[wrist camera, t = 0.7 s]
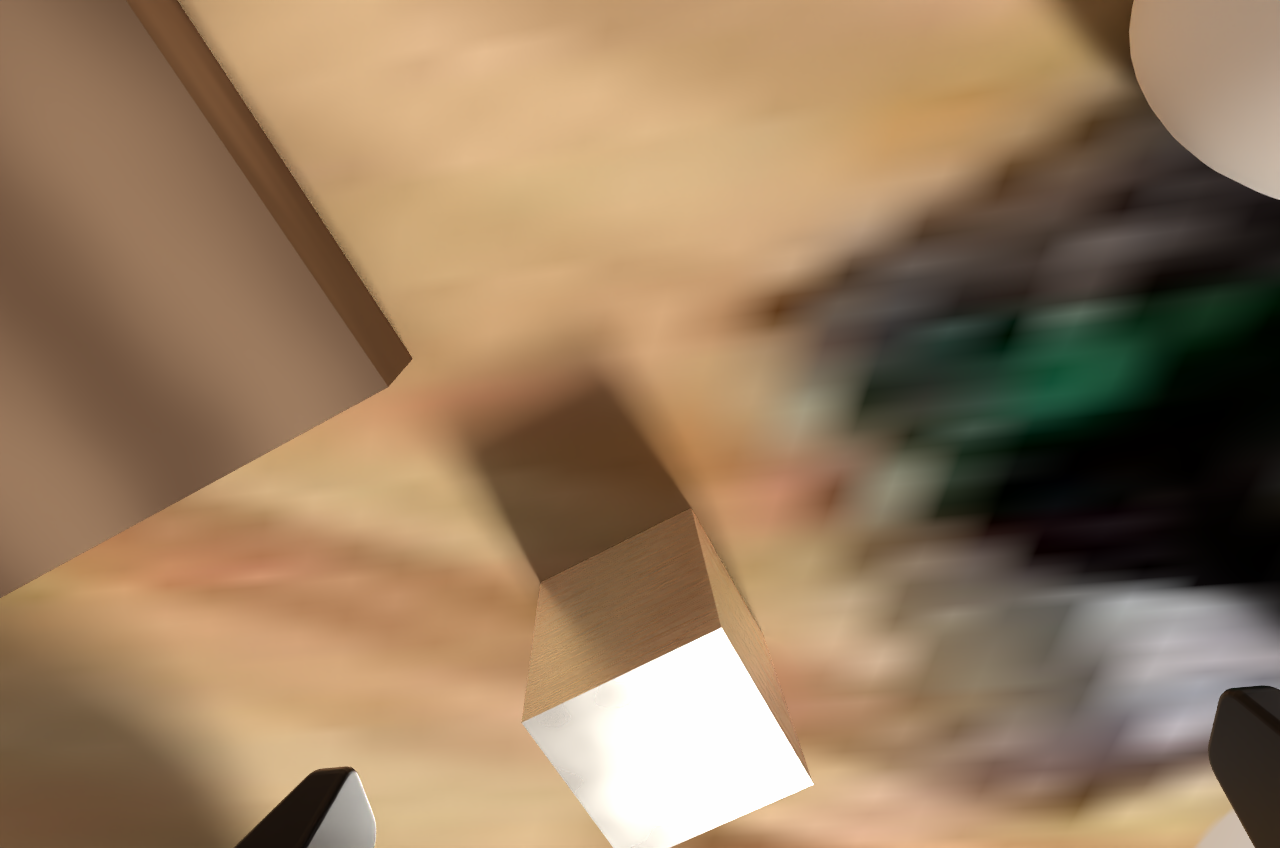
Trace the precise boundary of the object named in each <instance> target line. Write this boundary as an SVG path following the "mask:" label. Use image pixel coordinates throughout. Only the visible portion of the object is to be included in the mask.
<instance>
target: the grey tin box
mask: <svg viewBox="0 0 1280 848" xmlns="http://www.w3.org/2000/svg"><path fill="white" fill-rule="evenodd" d="M522 724H523V725H524V726H525V728H526V729H527V731H528V732H529V733H530V735H531V736H532V737H533V739H534V740H535V741H536V743H537V744H538V746H539V747H540V748H541V750H542V751H543V752H544V754H545V755H546V756H547V758H548V759H549V761H550V762H551V763H552V765H553V766H554V767H555V769H556V770H557V771H558V773H559V774H560V776H561V777H562V778H563V780H564V781H565V782H566V784H567V785H568V786H569V788H570V789H571V791H572V792H573V793H574V795H575V796H576V797H577V799H578V800H579V801H580V803H581V804H582V806H583V807H584V808H585V810H586V811H587V812H588V814H589V815H590V816H591V818H592V819H593V821H594V822H595V823H596V825H597V826H598V827H599V829H600V830H601V831H602V833H603V834H604V836H605V837H606V838H607V840H608V841H609V842H610V844H611V845H612V846H613V848H670V847H672V846H675V845H677V844H679V843H681V842H684V841H686V840H688V839H690V838H693V837H695V836H697V835H700V834H702V833H704V832H706V831H709V830H711V829H713V828H715V827H718V826H720V825H722V824H724V823H727V822H729V821H731V820H734V819H736V818H738V817H740V816H743V815H745V814H747V813H749V812H752V811H754V810H756V809H758V808H761V807H763V806H765V805H767V804H770V803H772V802H774V801H777V800H779V799H781V798H783V797H786V796H788V795H790V794H792V793H795V792H797V791H799V790H801V789H804V788H806V787H808V786H811V785H813V783H812V780H811V777H810V774H809V771H808V768H807V765H806V762H805V758H804V755H803V752H802V749H801V746H800V743H799V740H798V737H797V734H796V731H795V728H794V725H793V722H792V719H791V716H790V713H789V710H788V707H787V704H786V701H785V698H784V695H783V692H782V689H781V686H780V683H779V680H778V677H777V674H776V671H775V668H774V665H773V662H772V659H771V656H770V653H769V650H768V647H767V644H766V641H765V638H764V636H763V634H762V632H761V630H760V628H759V627H758V625H757V623H756V621H755V620H754V618H753V616H752V614H751V613H750V611H749V609H748V607H747V605H746V604H745V602H744V600H743V598H742V597H741V595H740V593H739V591H738V590H737V588H736V586H735V584H734V582H733V581H732V579H731V577H730V575H729V574H728V572H727V570H726V568H725V567H724V565H723V563H722V561H721V559H720V558H719V556H718V554H717V552H716V551H715V549H714V547H713V545H712V544H711V542H710V540H709V538H708V536H707V535H706V533H705V531H704V529H703V528H702V526H701V524H700V522H699V521H698V519H697V517H696V515H695V513H694V512H693V510H692V508H690V509H688V510H686V511H684V512H682V513H680V514H678V515H676V516H674V517H672V518H670V519H667V520H665V521H663V522H661V523H659V524H657V525H655V526H653V527H651V528H649V529H647V530H645V531H643V532H641V533H639V534H637V535H635V536H633V537H631V538H629V539H627V540H625V541H623V542H621V543H619V544H617V545H615V546H613V547H611V548H609V549H607V550H605V551H603V552H601V553H599V554H597V555H595V556H593V557H591V558H589V559H587V560H585V561H583V562H581V563H579V564H577V565H575V566H573V567H571V568H569V569H567V570H565V571H563V572H561V573H559V574H557V575H555V576H553V577H551V578H549V579H547V580H545V581H543V582H541V583H540V590H539V597H538V605H537V612H536V619H535V627H534V634H533V642H532V649H531V657H530V664H529V672H528V679H527V686H526V694H525V701H524V709H523V716H522Z"/></svg>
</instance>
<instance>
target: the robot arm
mask: <svg viewBox="0 0 1280 848" xmlns="http://www.w3.org/2000/svg"><path fill="white" fill-rule="evenodd" d="M1208 755H1209V760H1210V764H1211V767H1212V770H1213V772H1214V774H1215V776H1216V778H1217V780H1218V781H1219V783H1220V785H1221V787H1222V789H1223V791H1224V792H1225V794H1226V796H1227V798H1228V800H1229V801H1230V803H1231V805H1232V807H1233V809H1234V811H1235V812H1236V814H1237V816H1238V818H1239V820H1240V821H1241V823H1242V825H1243V827H1244V829H1245V831H1246V832H1247V834H1248V836H1249V838H1250V840H1251V841H1252V843H1253V845H1254V847H1255V848H1280V690H1279V689H1276V688H1274V687H1270V686H1252V687H1240V688H1231V689H1228V690H1226V691H1225V692H1224V693H1223V694H1222V695H1221V696H1220V699H1219V702H1218V706H1217V711H1216V715H1215V719H1214V723H1213V728H1212V732H1211V736H1210V740H1209V745H1208ZM375 841H376V823H375V818H374V815H373V812H372V809H371V807H370V804H369V801H368V799H367V796H366V794H365V791H364V788H363V786H362V783H361V780H360V778H359V775H358V774H357V772H356V771H355V770H354V769H353V768H352V767H336V768H325V769H318V770H316V771H314V772H312V773H311V774H309V775H308V776H307V777H306V778H305V779H304V780H303V781H302V782H301V783H300V784H299V785H298V786H297V787H296V788H295V789H294V790H293V791H291V792H290V793H289V794H288V795H287V796H286V797H285V798H284V799H283V800H282V801H281V802H280V803H279V804H278V805H277V806H276V807H275V808H274V809H273V810H272V811H271V812H270V813H269V814H268V815H267V816H266V817H265V818H264V819H263V820H262V821H261V822H260V823H259V824H258V825H257V826H256V827H255V828H253V829H252V830H251V831H250V832H249V833H248V834H247V835H246V836H245V837H244V838H243V839H242V840H241V841H240V842H239V843H238V844H237V845H236V846H235V847H234V848H374V847H375Z"/></svg>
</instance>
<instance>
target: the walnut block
mask: <svg viewBox="0 0 1280 848" xmlns="http://www.w3.org/2000/svg"><path fill="white" fill-rule="evenodd" d="M411 360H412V357H411V356H410V354H409V353H408V351H407V349H406V348H405V346H404V345H403V343H402V342H401V340H400V339H399V337H398V336H397V334H396V333H395V331H394V330H393V328H392V327H391V325H390V324H389V322H388V321H387V319H386V318H385V316H384V314H383V313H382V311H381V310H380V308H379V307H378V305H377V304H376V302H375V301H374V299H373V298H372V296H371V295H370V293H369V292H368V290H367V289H366V287H365V286H364V284H363V283H362V281H361V279H360V278H359V276H358V275H357V273H356V272H355V270H354V269H353V267H352V266H351V264H350V263H349V261H348V260H347V258H346V257H345V255H344V254H343V252H342V251H341V249H340V248H339V246H338V244H337V243H336V241H335V240H334V238H333V237H332V235H331V234H330V232H329V231H328V229H327V228H326V226H325V225H324V223H323V222H322V220H321V219H320V217H319V216H318V214H317V213H316V211H315V209H314V208H313V206H312V205H311V203H310V202H309V200H308V199H307V197H306V196H305V194H304V193H303V191H302V190H301V188H300V187H299V185H298V184H297V182H296V181H295V179H294V178H293V176H292V174H291V173H290V171H289V170H288V168H287V167H286V165H285V164H284V162H283V161H282V159H281V158H280V156H279V155H278V153H277V152H276V150H275V149H274V147H273V146H272V144H271V143H270V141H269V139H268V138H267V136H266V135H265V133H264V132H263V130H262V129H261V127H260V126H259V124H258V123H257V121H256V120H255V118H254V117H253V115H252V114H251V112H250V111H249V109H248V107H247V106H246V104H245V103H244V101H243V100H242V98H241V97H240V95H239V94H238V92H237V91H236V89H235V88H234V86H233V85H232V83H231V82H230V80H229V79H228V77H227V76H226V74H225V72H224V71H223V69H222V68H221V66H220V65H219V63H218V62H217V60H216V59H215V57H214V56H213V54H212V53H211V51H210V50H209V48H208V47H207V45H206V44H205V42H204V41H203V39H202V37H201V36H200V34H199V33H198V31H197V30H196V28H195V27H194V25H193V24H192V22H191V21H190V19H189V18H188V16H187V15H186V13H185V12H184V10H183V9H182V7H181V6H180V4H179V2H178V1H177V0H0V598H1V597H3V596H5V595H6V594H8V593H10V592H12V591H14V590H16V589H18V588H19V587H21V586H23V585H25V584H27V583H29V582H30V581H32V580H34V579H36V578H38V577H40V576H41V575H43V574H45V573H47V572H49V571H51V570H52V569H54V568H56V567H58V566H60V565H62V564H64V563H65V562H67V561H69V560H71V559H73V558H75V557H76V556H78V555H80V554H82V553H84V552H86V551H87V550H89V549H91V548H93V547H95V546H97V545H98V544H100V543H102V542H104V541H106V540H108V539H109V538H111V537H113V536H115V535H117V534H119V533H121V532H122V531H124V530H126V529H128V528H130V527H132V526H133V525H135V524H137V523H139V522H141V521H143V520H144V519H146V518H148V517H150V516H152V515H154V514H155V513H157V512H159V511H161V510H163V509H165V508H167V507H168V506H170V505H172V504H174V503H176V502H178V501H179V500H181V499H183V498H185V497H187V496H189V495H190V494H192V493H194V492H196V491H198V490H200V489H201V488H203V487H205V486H207V485H209V484H211V483H212V482H214V481H216V480H218V479H220V478H222V477H224V476H225V475H227V474H229V473H231V472H233V471H235V470H236V469H238V468H240V467H242V466H244V465H246V464H247V463H249V462H251V461H253V460H255V459H257V458H258V457H260V456H262V455H264V454H266V453H268V452H270V451H271V450H273V449H275V448H277V447H279V446H281V445H282V444H284V443H286V442H288V441H290V440H292V439H293V438H295V437H297V436H299V435H301V434H303V433H304V432H306V431H308V430H310V429H312V428H314V427H315V426H317V425H319V424H321V423H323V422H325V421H327V420H328V419H330V418H332V417H334V416H336V415H338V414H339V413H341V412H343V411H345V410H347V409H349V408H350V407H352V406H354V405H356V404H358V403H360V402H361V401H363V400H365V399H367V398H369V397H371V396H372V395H374V394H376V393H378V392H380V391H382V390H384V389H385V388H387V387H389V385H390V384H391V383H392V382H393V381H394V380H395V379H396V377H397V376H398V375H399V374H400V373H401V372H402V370H403V369H404V368H405V367H406V366H407V365H408V363H409V362H410V361H411Z"/></svg>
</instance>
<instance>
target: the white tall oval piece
mask: <svg viewBox="0 0 1280 848" xmlns="http://www.w3.org/2000/svg"><path fill="white" fill-rule="evenodd" d="M1129 38H1130V53H1131V59H1132V63H1133V67H1134V71H1135V75H1136V78H1137V81H1138V83H1139V86H1140V88H1141V90H1142V92H1143V94H1144V96H1145V98H1146V100H1147V102H1148V104H1149V106H1150V107H1151V109H1152V110H1153V112H1154V113H1155V114H1156V116H1157V117H1158V118H1159V120H1160V121H1161V122H1162V124H1163V125H1164V126H1165V127H1166V129H1167V130H1168V131H1169V133H1170V134H1171V135H1172V136H1173V137H1174V138H1175V139H1176V140H1177V141H1178V142H1179V143H1180V144H1181V145H1183V146H1184V147H1185V148H1186V149H1187V150H1188V151H1190V152H1191V153H1192V154H1193V155H1194V156H1196V157H1197V158H1198V159H1199V160H1200V161H1202V162H1203V163H1204V164H1206V165H1207V166H1208V167H1210V168H1212V169H1213V170H1215V171H1216V172H1218V173H1220V174H1222V175H1224V176H1226V177H1228V178H1230V179H1232V180H1234V181H1236V182H1238V183H1240V184H1242V185H1244V186H1246V187H1248V188H1251V189H1253V190H1255V191H1257V192H1259V193H1262V194H1264V195H1267V196H1269V197H1272V198H1275V199H1278V200H1280V0H1134V2H1133V5H1132V13H1131V20H1130V28H1129Z"/></svg>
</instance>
